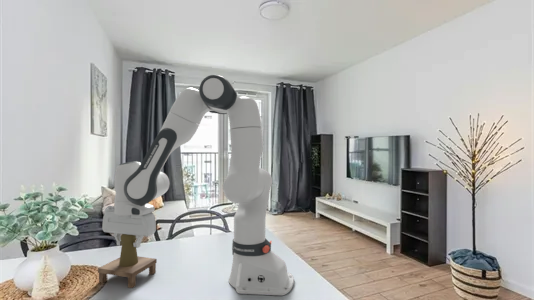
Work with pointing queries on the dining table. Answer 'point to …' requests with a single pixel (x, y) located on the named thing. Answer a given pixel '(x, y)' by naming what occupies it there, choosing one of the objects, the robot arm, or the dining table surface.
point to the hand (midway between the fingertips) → (128, 246)
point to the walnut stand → (127, 270)
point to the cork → (128, 251)
